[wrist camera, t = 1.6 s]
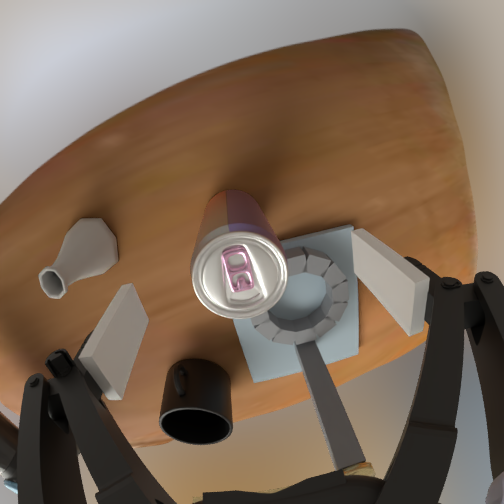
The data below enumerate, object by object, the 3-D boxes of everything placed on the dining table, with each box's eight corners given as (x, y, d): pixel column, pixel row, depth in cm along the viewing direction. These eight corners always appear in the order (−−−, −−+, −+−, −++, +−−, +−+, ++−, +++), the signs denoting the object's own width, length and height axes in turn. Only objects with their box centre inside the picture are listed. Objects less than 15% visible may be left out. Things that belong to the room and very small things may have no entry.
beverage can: (254, 183, 29) (283, 218, 15) (265, 236, 31) (297, 310, 17) (198, 195, 29) (175, 242, 15) (211, 247, 31) (204, 330, 17)
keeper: (369, 471, 18) (372, 480, 17) (203, 504, 18) (203, 514, 17) (373, 457, 17) (377, 468, 16) (188, 494, 17) (188, 505, 16)
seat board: (253, 378, 39) (272, 504, 20) (214, 256, 32) (208, 408, 13) (355, 350, 39) (415, 457, 20) (349, 224, 32) (473, 319, 13)
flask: (82, 279, 31) (45, 323, 22) (60, 227, 28) (13, 258, 19) (128, 265, 31) (97, 310, 22) (106, 207, 28) (62, 235, 19)
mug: (212, 337, 36) (211, 388, 27) (237, 393, 40) (241, 440, 32) (148, 350, 36) (135, 398, 27) (181, 402, 40) (177, 447, 32)
